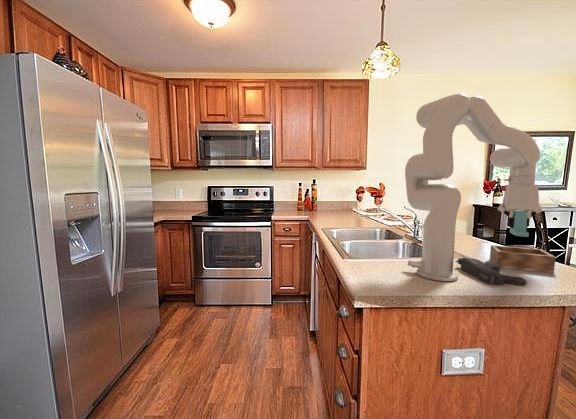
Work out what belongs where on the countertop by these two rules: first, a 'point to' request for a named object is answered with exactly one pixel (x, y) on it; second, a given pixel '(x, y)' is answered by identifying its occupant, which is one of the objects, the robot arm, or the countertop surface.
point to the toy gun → (488, 272)
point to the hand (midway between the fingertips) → (518, 227)
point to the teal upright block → (519, 224)
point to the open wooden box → (522, 258)
